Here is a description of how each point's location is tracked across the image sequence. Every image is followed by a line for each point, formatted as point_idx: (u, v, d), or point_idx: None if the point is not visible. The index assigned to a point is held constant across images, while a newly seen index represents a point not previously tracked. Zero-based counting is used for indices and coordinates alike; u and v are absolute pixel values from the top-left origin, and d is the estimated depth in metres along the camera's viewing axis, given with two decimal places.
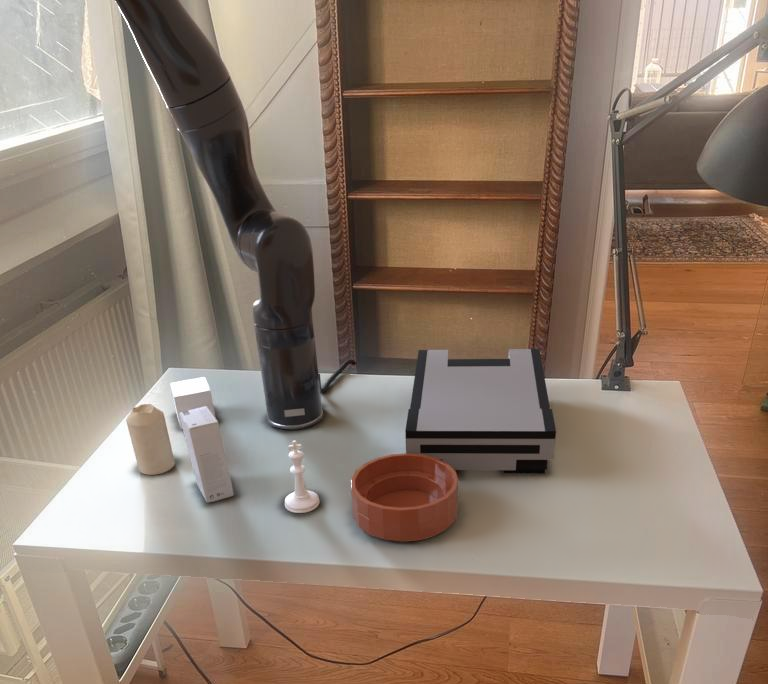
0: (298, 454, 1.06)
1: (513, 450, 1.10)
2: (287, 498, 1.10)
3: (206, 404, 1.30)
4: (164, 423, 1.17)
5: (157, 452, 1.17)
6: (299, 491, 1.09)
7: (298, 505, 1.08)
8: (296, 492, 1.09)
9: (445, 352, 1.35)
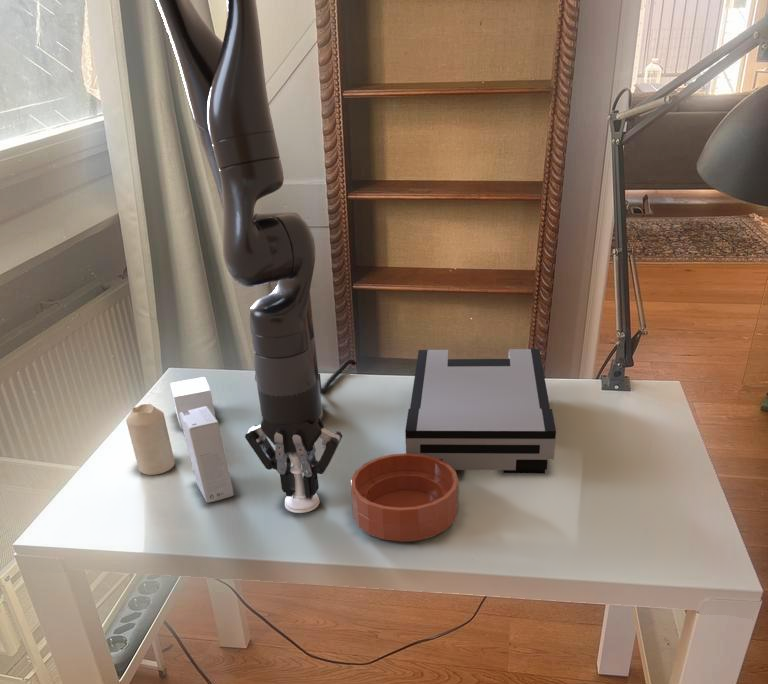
0: None
1: (513, 449, 1.10)
2: (287, 498, 1.10)
3: (206, 404, 1.30)
4: (164, 423, 1.17)
5: (157, 452, 1.17)
6: (299, 491, 1.09)
7: (298, 505, 1.08)
8: (296, 492, 1.09)
9: (445, 352, 1.35)
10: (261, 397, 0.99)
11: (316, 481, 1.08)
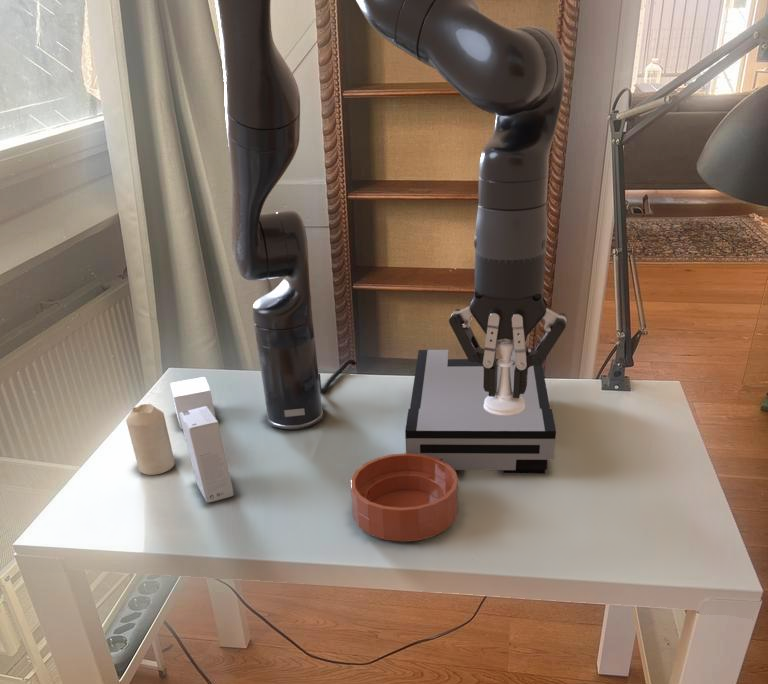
0: (510, 342, 0.89)
1: (513, 449, 1.10)
2: (487, 400, 0.94)
3: (206, 404, 1.30)
4: (164, 423, 1.17)
5: (157, 452, 1.17)
6: (505, 390, 0.92)
7: (504, 406, 0.92)
8: (501, 391, 0.92)
9: (445, 352, 1.35)
10: (482, 265, 0.83)
11: None
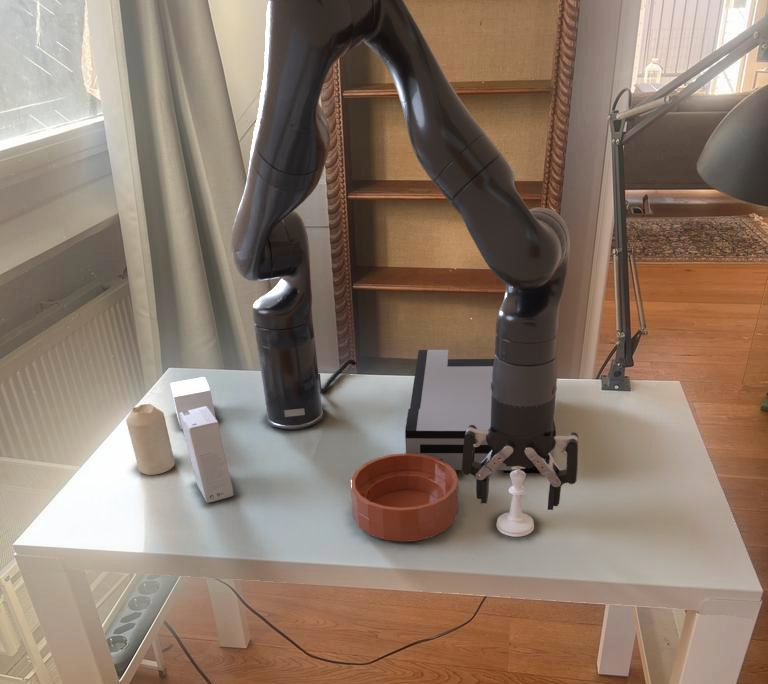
0: (521, 474, 0.99)
1: None
2: (500, 520, 1.03)
3: (206, 404, 1.30)
4: (164, 423, 1.17)
5: (157, 452, 1.17)
6: (516, 513, 1.02)
7: (515, 528, 1.01)
8: (512, 514, 1.02)
9: (445, 352, 1.35)
10: (498, 408, 0.92)
11: (560, 491, 0.99)
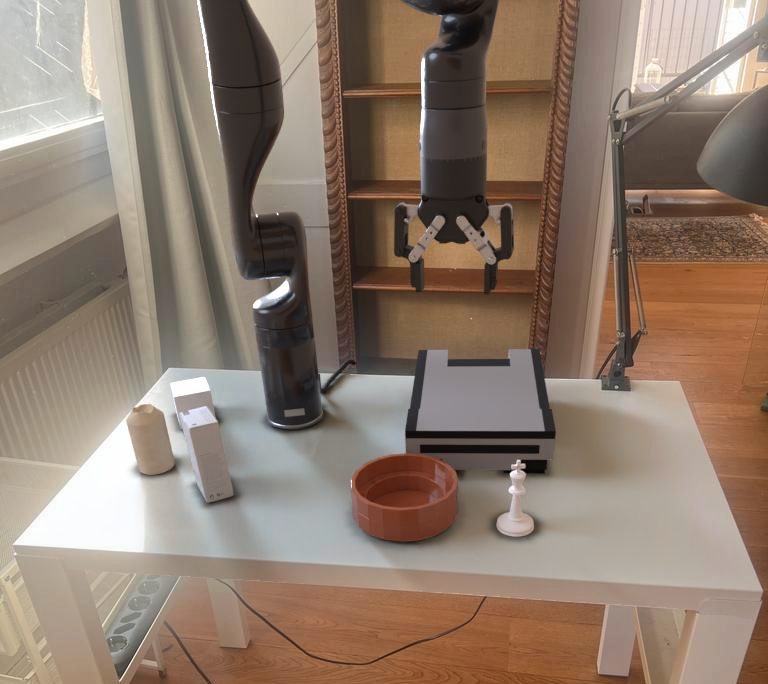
0: (521, 474, 0.99)
1: (513, 450, 1.10)
2: (500, 520, 1.03)
3: (206, 404, 1.30)
4: (164, 423, 1.17)
5: (157, 452, 1.17)
6: (516, 513, 1.02)
7: (515, 528, 1.01)
8: (512, 514, 1.02)
9: (445, 352, 1.35)
10: (426, 166, 0.87)
11: (497, 273, 0.95)
